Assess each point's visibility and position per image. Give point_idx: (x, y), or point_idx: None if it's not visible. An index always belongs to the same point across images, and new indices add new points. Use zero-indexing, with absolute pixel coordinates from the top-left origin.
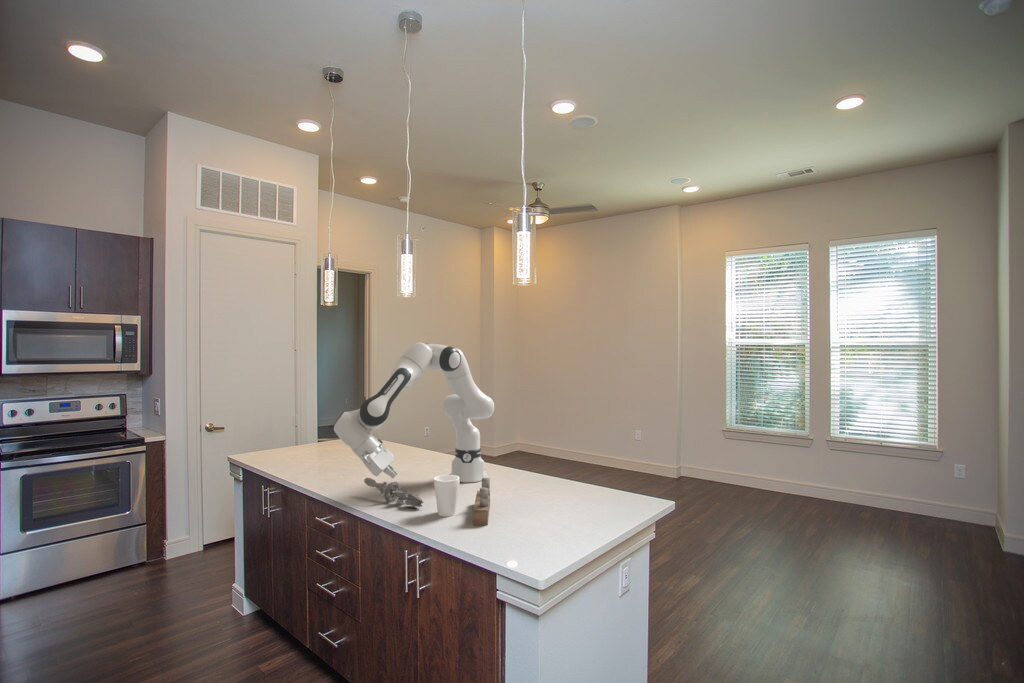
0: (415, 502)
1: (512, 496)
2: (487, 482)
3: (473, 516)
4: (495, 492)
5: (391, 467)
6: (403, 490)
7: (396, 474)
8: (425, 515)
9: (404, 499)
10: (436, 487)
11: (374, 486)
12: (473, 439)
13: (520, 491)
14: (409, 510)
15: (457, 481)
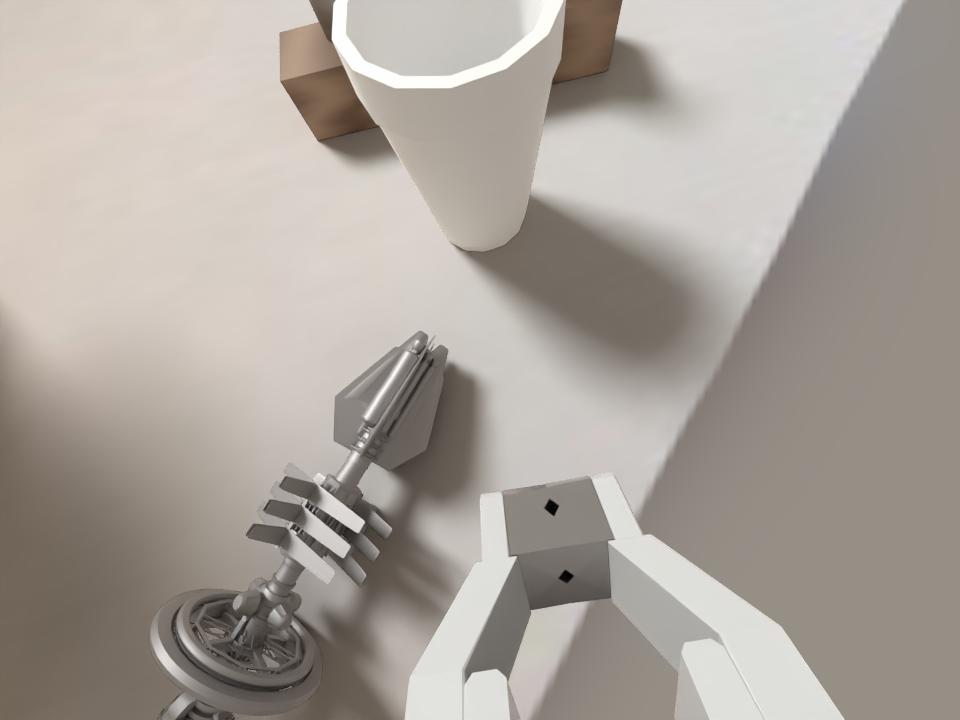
0: (422, 383)
1: (216, 53)
2: None
3: (615, 27)
4: (154, 123)
5: (473, 664)
6: (290, 515)
7: (541, 485)
8: (529, 299)
9: (356, 488)
10: (534, 104)
11: None
12: None
13: (149, 46)
14: (461, 417)
15: None
